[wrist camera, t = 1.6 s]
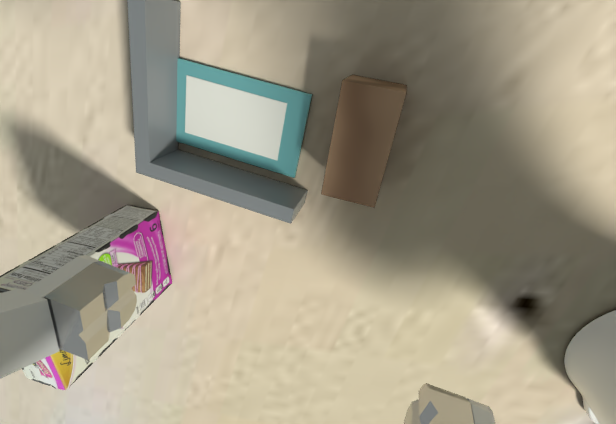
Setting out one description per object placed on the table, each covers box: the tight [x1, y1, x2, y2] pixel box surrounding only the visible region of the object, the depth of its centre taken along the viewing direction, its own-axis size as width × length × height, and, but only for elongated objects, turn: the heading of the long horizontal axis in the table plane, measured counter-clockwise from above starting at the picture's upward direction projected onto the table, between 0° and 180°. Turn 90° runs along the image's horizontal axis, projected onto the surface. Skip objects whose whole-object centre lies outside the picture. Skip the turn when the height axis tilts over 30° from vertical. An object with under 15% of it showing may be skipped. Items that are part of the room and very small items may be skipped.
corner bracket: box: [128, 0, 312, 223], centre depth 30 cm, size 16×15×4 cm
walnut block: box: [321, 75, 407, 208], centre depth 27 cm, size 4×9×5 cm, turn 172°
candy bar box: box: [0, 205, 172, 390], centre depth 36 cm, size 11×5×16 cm, turn 178°
